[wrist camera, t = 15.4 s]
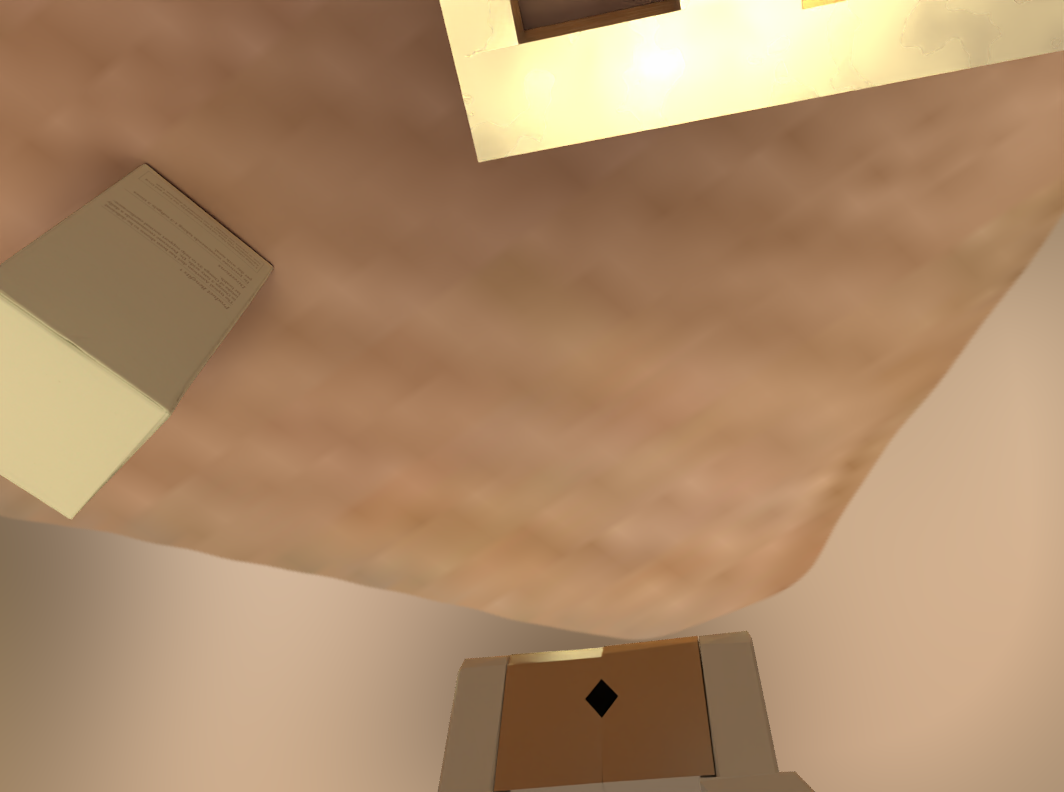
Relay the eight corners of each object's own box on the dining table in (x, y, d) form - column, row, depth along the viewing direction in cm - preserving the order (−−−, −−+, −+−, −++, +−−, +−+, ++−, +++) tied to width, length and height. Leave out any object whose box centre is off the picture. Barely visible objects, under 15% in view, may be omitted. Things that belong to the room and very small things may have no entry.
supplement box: (65, 265, 42) (-117, 407, 31) (146, 157, 39) (-24, 273, 28) (195, 364, 44) (68, 527, 34) (281, 269, 41) (172, 415, 31)
